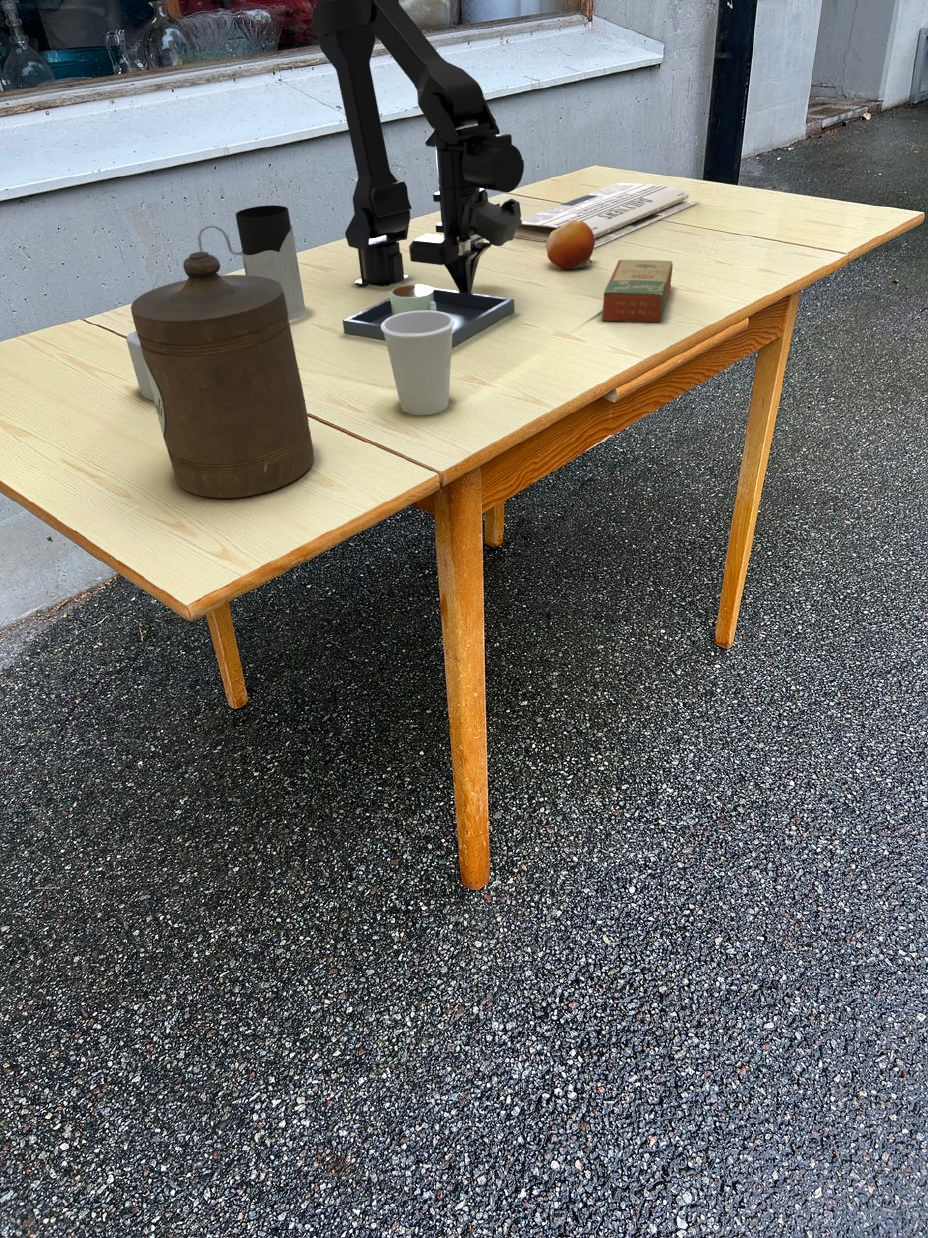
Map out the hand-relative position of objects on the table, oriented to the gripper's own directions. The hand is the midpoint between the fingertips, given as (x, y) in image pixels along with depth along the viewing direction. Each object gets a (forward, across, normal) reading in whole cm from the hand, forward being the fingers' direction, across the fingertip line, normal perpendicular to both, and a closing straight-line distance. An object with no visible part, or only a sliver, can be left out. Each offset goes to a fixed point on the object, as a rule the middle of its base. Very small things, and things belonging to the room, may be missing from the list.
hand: (466, 296), depth 139 cm
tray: (+1, -10, 0) cm, 10 cm away
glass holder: (+2, -17, +26) cm, 31 cm away
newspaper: (+3, +55, +4) cm, 55 cm away
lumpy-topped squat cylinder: (+1, -42, +14) cm, 44 cm away
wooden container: (+1, -55, -8) cm, 56 cm away
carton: (+2, +11, -23) cm, 25 cm away
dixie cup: (+1, -33, -16) cm, 37 cm away
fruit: (+2, +25, -4) cm, 25 cm away
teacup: (+1, -13, 0) cm, 13 cm away
